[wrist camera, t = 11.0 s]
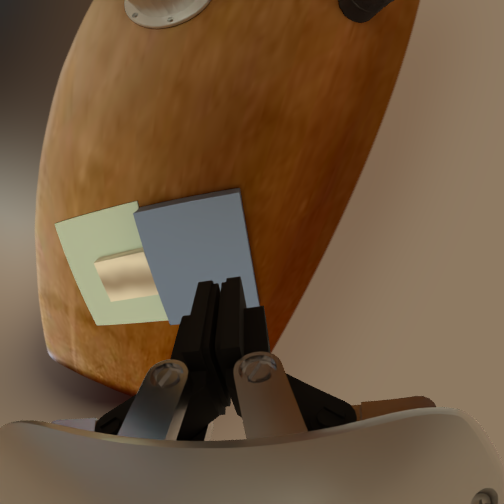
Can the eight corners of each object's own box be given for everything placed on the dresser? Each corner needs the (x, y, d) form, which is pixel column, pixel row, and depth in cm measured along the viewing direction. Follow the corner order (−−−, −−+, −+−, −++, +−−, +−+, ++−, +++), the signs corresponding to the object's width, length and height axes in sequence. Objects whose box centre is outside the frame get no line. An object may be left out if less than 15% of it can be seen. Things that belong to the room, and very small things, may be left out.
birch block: (99, 257, 39) (93, 263, 37) (147, 246, 38) (143, 251, 37) (115, 295, 42) (111, 301, 40) (163, 287, 41) (159, 294, 40)
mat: (55, 223, 37) (54, 223, 36) (137, 200, 36) (136, 201, 36) (97, 324, 45) (96, 325, 44) (174, 318, 44) (174, 319, 44)
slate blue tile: (140, 207, 36) (132, 213, 34) (239, 187, 36) (239, 192, 33) (174, 313, 44) (170, 324, 41) (259, 302, 43) (260, 314, 41)
